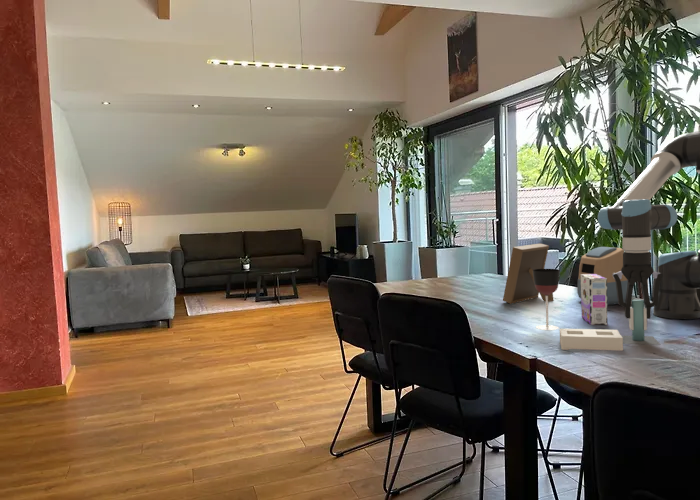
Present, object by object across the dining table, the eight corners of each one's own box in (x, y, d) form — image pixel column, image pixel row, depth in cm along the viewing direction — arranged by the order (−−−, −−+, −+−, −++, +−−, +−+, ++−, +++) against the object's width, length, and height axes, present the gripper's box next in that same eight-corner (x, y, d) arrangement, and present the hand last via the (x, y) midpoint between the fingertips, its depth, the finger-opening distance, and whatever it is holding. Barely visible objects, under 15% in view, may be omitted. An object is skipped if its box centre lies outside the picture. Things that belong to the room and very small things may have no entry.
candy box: (608, 325, 179) (607, 278, 178) (590, 325, 180) (589, 278, 179) (597, 317, 193) (597, 273, 192) (580, 317, 194) (579, 273, 193)
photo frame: (502, 302, 231) (501, 246, 229) (529, 296, 245) (529, 243, 243) (533, 306, 219) (532, 247, 218) (559, 299, 233) (559, 243, 231)
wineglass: (538, 324, 186) (537, 268, 185) (564, 326, 181) (562, 269, 179) (530, 328, 180) (529, 271, 179) (556, 331, 175) (555, 271, 173)
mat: (652, 337, 160) (652, 336, 160) (660, 345, 151) (660, 344, 151) (616, 336, 164) (616, 335, 164) (622, 344, 154) (622, 343, 154)
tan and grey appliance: (573, 300, 228) (572, 247, 227) (608, 297, 231) (607, 245, 230) (598, 306, 212) (597, 250, 210) (635, 303, 215) (634, 247, 213)
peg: (643, 338, 158) (642, 299, 157) (645, 341, 155) (644, 301, 154) (631, 338, 159) (630, 299, 158) (633, 340, 156) (632, 301, 155)
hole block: (617, 342, 156) (617, 329, 156) (622, 351, 147) (622, 337, 147) (559, 341, 162) (559, 328, 161) (561, 349, 152) (561, 336, 152)
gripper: (664, 249, 156) (664, 326, 158) (605, 251, 162) (606, 325, 163) (670, 251, 149) (671, 332, 151) (609, 253, 154) (610, 331, 156)
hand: (637, 328), depth 157 cm, fingers closed on peg, 3 cm apart
